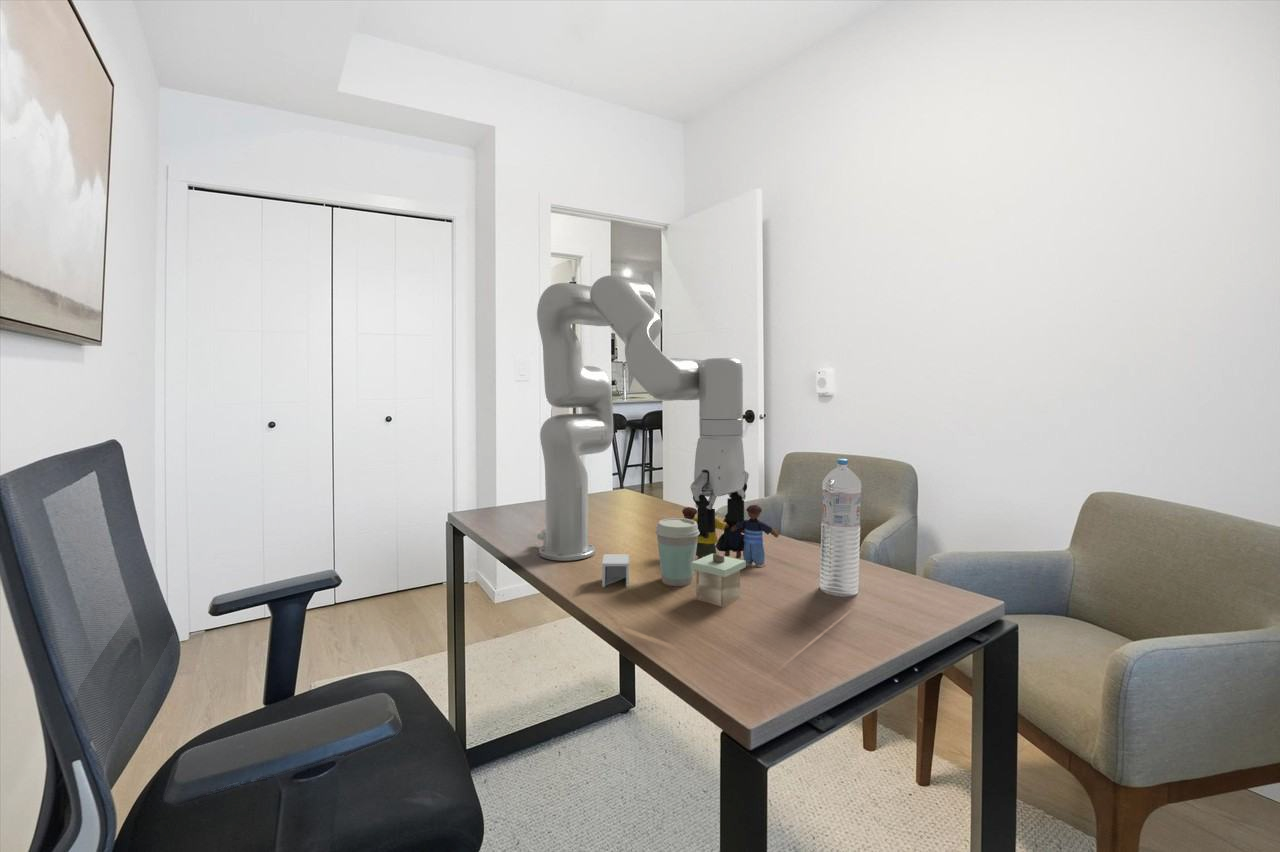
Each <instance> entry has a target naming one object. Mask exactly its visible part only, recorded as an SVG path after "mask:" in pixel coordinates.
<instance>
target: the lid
mask: <svg viewBox="0 0 1280 852" xmlns="http://www.w3.org/2000/svg"><path fill="white" fill-rule="evenodd" d="M746 567H747V566H746V561H745V560H744V559H743V560H740V559H735V557H732V558H731V557H726V556H724V553H721V552H720V553H719V552H718V553H717V552H716V553H715V554H713V553H712V554H710V555H708V556H705V557H703V558H700V559H695V561H693V562H691V569H694V571H697V570H698V571H702V572H706V573H710V574H714V575H718V576H722V577H727V576H729V575H731V574H733V573H735V572H737V571H739V570H740V571H741V570H743V569H745V568H746Z"/></svg>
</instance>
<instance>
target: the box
mask: <svg viewBox="0 0 1280 852" xmlns="http://www.w3.org/2000/svg"><path fill="white" fill-rule="evenodd" d="M695 580H696V587H695V589H696V590H695V591H696V594H695V595H696V597H695V599H696V600H698V601H701V602H704V603H709V604H712V605H716V606H719V607H722V608H723V607H725V606H728V605H730V604H731V603H733V602H735V601H737V600H738V599H740V598H741V570H739V571H737V572H735V573H733V574H731V575H729V576H727V577H722V576H718V575H714V574H710V573H706V572H702V571H698V570H696V579H695Z"/></svg>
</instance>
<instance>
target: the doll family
mask: <svg viewBox="0 0 1280 852" xmlns="http://www.w3.org/2000/svg"><path fill="white" fill-rule="evenodd" d="M745 510H746V512H747V515H748V517H749V518H750V519H744V521H743V522H736V521H729V520H728V514H727V513H726V514H725V515H724V518H723V521H722V520H720V519H718V518H715V532H713V533H710V532H704V531H699V532H700V534H699V535H698V540H697V548H696V556H697V558H696V560H698V559H700V558H703V557H705V556H708V555H710V554H712V553H713V554H715V553H717V551H719V552H724V553H723V554H724V556H726V557H731V558H733V557H732V554H731V552H733V553H736V554H735V557H734V558H735V559H740V560H745V561H746V567H752V565H753V563H754V564H755V565H754V566H755V567H756V568H763V567H765V566H766V563H765V558H766V557H765V556H766V554H765V553H766V552H765V548H764V540H763V539H764V538H763V533H765V534H766V535H772V536H773V537H774V538H779V536H780V534H779V532H777V531H775V530H774V528H773V527H772V526H771V525H768V523H767V524H766V523H765V522H763V521H761V520H759V517H760V514H761V513H762V512H763V510H762V508H761V506H759V504H751V505H749V506H747V508H746V509H745ZM681 511H682V514H683V519H690V520H693V521H696V522H697V525H698V517H696V515H697V514H698V510H697V508H696V507H692V506H691V507H690V506H686V507H683V509H682V510H681ZM716 529H718V530H721V532H722V530H723V533H722V534H721V535H720V536H719V538H718V537H717V533H716Z"/></svg>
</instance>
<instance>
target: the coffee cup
mask: <svg viewBox="0 0 1280 852" xmlns="http://www.w3.org/2000/svg"><path fill="white" fill-rule="evenodd" d="M655 534H656V535H657V537H656V539H657V545H658V546H657V547H658V557H659V565H660V567H659V568H660V574H661V582H662V583H663V584H664V585H667V586H673V587H685V586H688V585H691V584H692V583H693V582H694V581H693V580H694V574H695V573H694V571H695V570H694V569H691V562H693V561H695V560H696V548H697V540H698V535H699V534H700V532H699V530H698V525H697V522H696V521H693V520H690V519H685V518H684V517H683V518H681V517H679V518H678V517H677V518H675V517H672V518H664V519H660V520H659V521H658V523H657V526H656V528H655Z"/></svg>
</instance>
